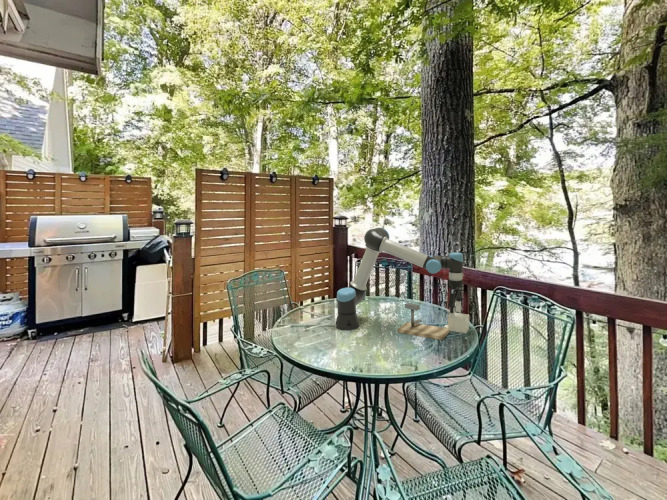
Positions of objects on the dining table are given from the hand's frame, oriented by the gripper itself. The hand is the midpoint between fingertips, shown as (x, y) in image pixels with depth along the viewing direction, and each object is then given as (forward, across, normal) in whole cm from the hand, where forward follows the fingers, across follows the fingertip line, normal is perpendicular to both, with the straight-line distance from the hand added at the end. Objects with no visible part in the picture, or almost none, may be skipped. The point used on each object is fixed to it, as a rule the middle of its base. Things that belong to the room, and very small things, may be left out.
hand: (455, 315), depth 197 cm
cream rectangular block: (+9, +1, 0) cm, 9 cm away
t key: (+7, -9, +21) cm, 23 cm away
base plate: (+9, -12, +15) cm, 21 cm away
